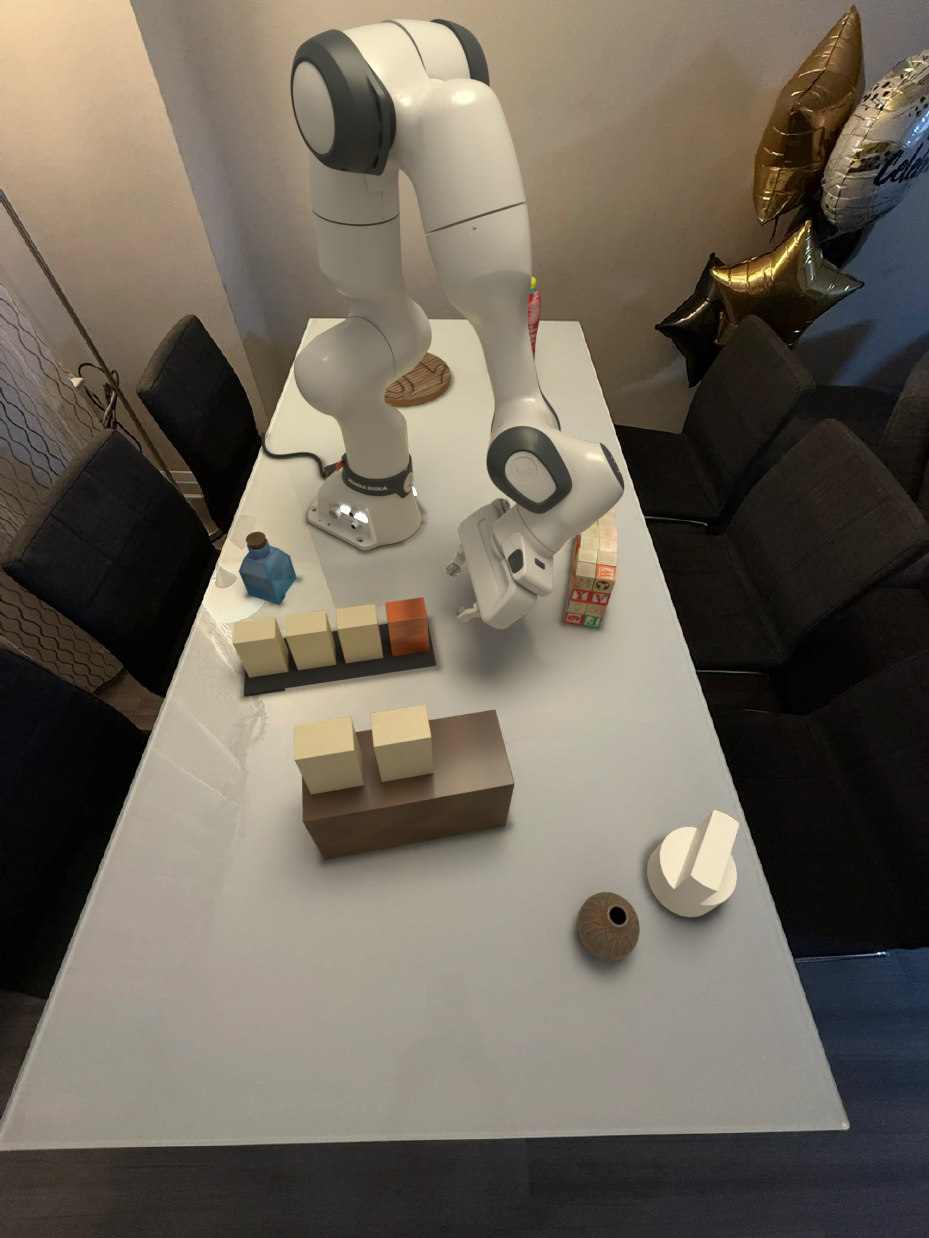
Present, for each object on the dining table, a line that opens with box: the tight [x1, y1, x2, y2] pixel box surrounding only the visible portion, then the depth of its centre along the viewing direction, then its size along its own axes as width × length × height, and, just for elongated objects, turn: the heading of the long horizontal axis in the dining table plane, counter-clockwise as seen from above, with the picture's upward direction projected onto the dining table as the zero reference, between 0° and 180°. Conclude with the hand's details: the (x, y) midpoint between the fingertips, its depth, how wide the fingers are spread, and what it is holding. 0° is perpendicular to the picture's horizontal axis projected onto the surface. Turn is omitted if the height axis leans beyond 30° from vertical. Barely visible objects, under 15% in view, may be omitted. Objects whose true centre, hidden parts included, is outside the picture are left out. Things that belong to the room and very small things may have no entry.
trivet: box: [384, 351, 451, 408], centre depth 148 cm, size 25×25×2 cm
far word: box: [232, 603, 437, 697], centre depth 91 cm, size 30×10×10 cm, turn 101°
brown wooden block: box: [293, 704, 515, 861], centre depth 70 cm, size 24×10×23 cm, turn 101°
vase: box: [576, 891, 641, 962], centre depth 66 cm, size 7×7×9 cm
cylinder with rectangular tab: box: [646, 809, 741, 918], centre depth 69 cm, size 9×9×12 cm
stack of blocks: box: [563, 506, 619, 629], centre depth 101 cm, size 21×6×12 cm, turn 168°
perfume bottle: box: [238, 531, 298, 605], centre depth 99 cm, size 6×6×12 cm
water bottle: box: [528, 276, 542, 362], centre depth 140 cm, size 12×8×25 cm, turn 177°
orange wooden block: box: [384, 596, 429, 656], centre depth 92 cm, size 6×4×9 cm, turn 101°
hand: (454, 594), depth 88 cm, fingers open, 8 cm apart
